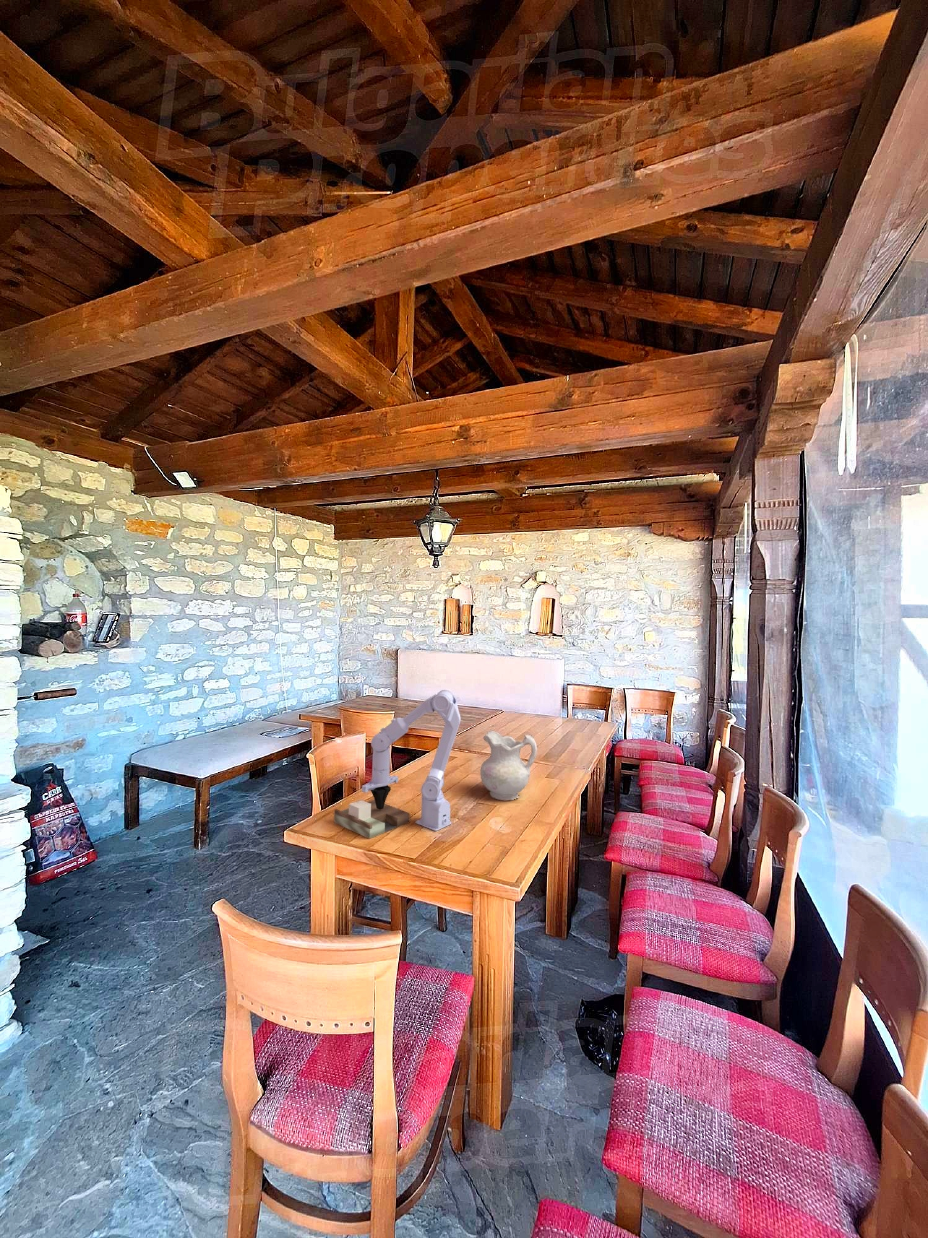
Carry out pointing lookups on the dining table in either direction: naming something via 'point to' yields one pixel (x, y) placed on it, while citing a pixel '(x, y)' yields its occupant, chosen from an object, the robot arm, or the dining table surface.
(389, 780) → the robot arm
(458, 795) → the dining table surface
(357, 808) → the cream block
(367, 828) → the box
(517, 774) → the ceramic pitcher
